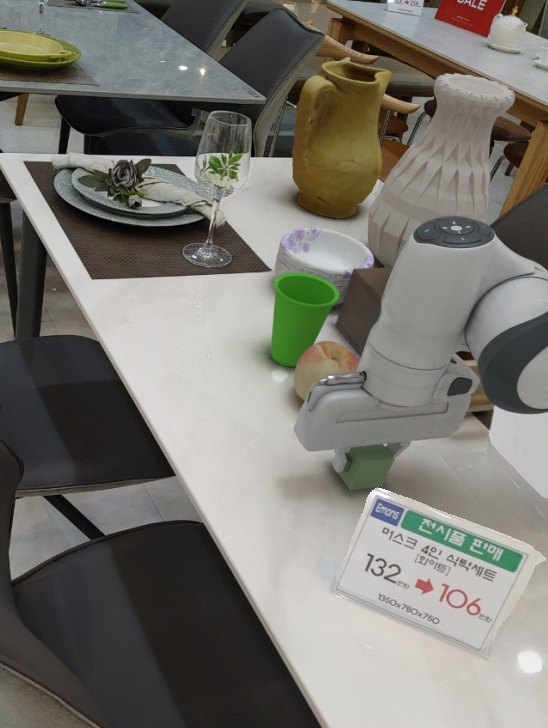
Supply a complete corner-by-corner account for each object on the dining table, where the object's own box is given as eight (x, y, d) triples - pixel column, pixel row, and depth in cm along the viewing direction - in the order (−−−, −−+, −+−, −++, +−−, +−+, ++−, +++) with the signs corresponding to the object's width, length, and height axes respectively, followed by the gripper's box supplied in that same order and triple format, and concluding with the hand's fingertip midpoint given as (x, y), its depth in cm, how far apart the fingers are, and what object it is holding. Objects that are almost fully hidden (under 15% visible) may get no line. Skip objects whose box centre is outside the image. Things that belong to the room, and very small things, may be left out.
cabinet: (456, 377, 113) (483, 319, 107) (382, 383, 110) (405, 323, 103) (404, 322, 124) (425, 266, 117) (335, 325, 120) (353, 268, 113)
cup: (244, 351, 111) (260, 281, 103) (285, 334, 116) (303, 266, 108) (290, 382, 107) (310, 311, 99) (330, 363, 112) (352, 294, 104)
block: (364, 462, 96) (376, 434, 93) (382, 486, 93) (394, 458, 90) (333, 466, 94) (343, 437, 91) (349, 490, 91) (360, 462, 88)
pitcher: (376, 227, 149) (413, 83, 132) (280, 217, 149) (306, 73, 132) (365, 196, 162) (398, 61, 145) (277, 187, 162) (300, 52, 145)
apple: (303, 376, 108) (318, 326, 103) (361, 401, 106) (379, 351, 100) (277, 403, 103) (291, 352, 97) (337, 430, 100) (356, 379, 94)
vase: (404, 301, 129) (477, 109, 108) (333, 247, 141) (386, 65, 120) (487, 285, 137) (569, 104, 116) (413, 236, 149) (475, 64, 128)
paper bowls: (356, 325, 121) (371, 279, 115) (262, 302, 122) (273, 255, 117) (364, 284, 132) (378, 239, 126) (278, 263, 133) (288, 218, 128)
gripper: (327, 393, 78) (294, 493, 87) (493, 380, 84) (445, 475, 93) (302, 359, 82) (273, 458, 92) (461, 348, 88) (419, 442, 97)
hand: (361, 466), depth 92 cm, fingers closed on block, 4 cm apart
